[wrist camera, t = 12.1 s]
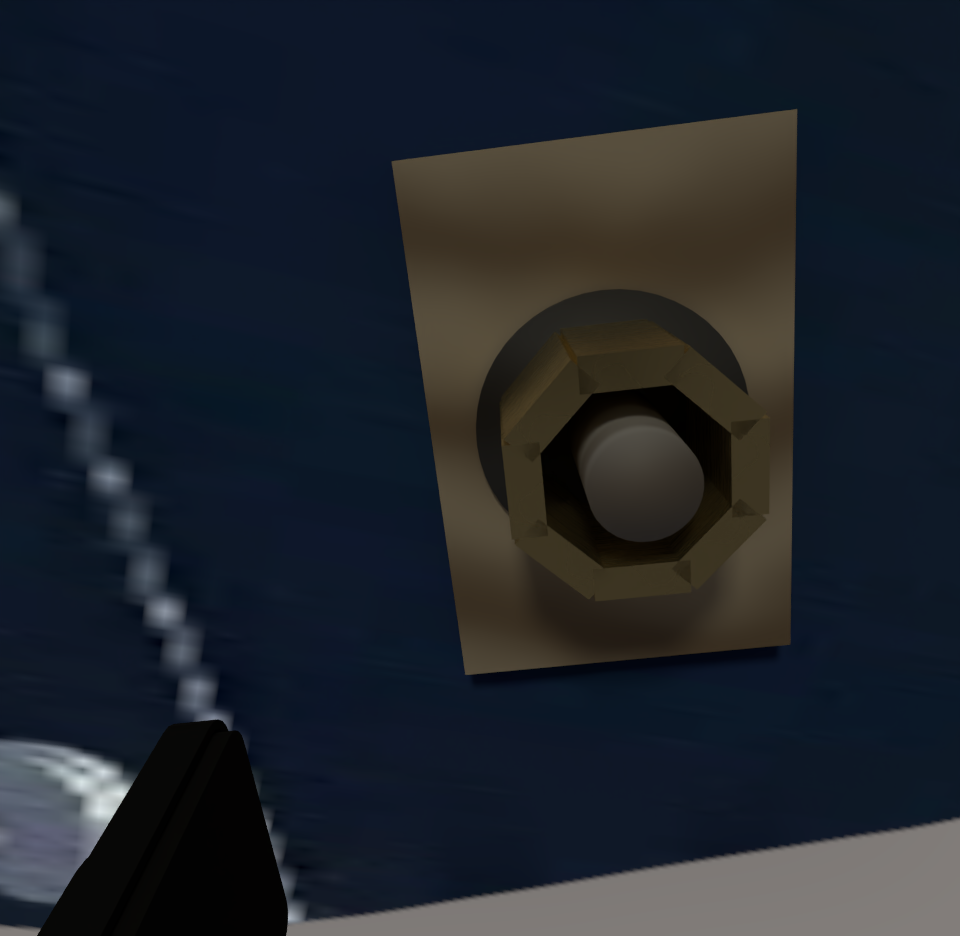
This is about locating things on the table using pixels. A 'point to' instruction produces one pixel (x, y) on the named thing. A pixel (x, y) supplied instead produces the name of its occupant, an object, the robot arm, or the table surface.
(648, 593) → the ring
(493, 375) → the post stand
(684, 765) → the table surface
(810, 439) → the table surface
